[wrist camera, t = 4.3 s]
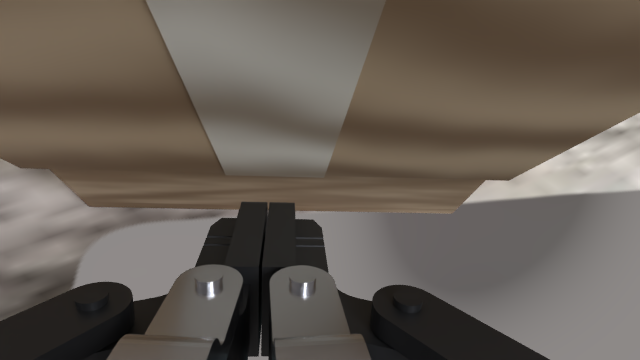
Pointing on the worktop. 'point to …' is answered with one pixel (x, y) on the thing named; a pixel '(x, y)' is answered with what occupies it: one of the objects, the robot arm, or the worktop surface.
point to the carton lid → (313, 84)
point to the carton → (266, 191)
